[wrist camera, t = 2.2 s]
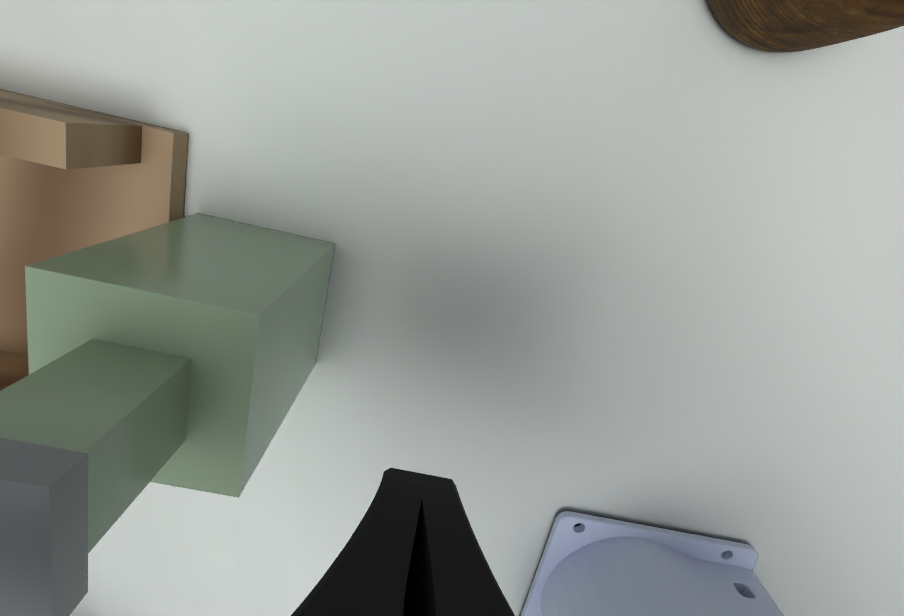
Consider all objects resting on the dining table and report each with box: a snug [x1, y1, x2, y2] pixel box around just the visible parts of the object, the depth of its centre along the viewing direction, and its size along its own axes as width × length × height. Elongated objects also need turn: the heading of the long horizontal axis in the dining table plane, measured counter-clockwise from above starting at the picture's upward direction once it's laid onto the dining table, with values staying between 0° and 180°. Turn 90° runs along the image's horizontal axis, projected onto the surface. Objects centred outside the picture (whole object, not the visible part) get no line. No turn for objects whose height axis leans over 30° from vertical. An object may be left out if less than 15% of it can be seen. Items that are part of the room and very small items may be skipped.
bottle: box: [0, 213, 335, 616], centre depth 13 cm, size 5×5×13 cm
